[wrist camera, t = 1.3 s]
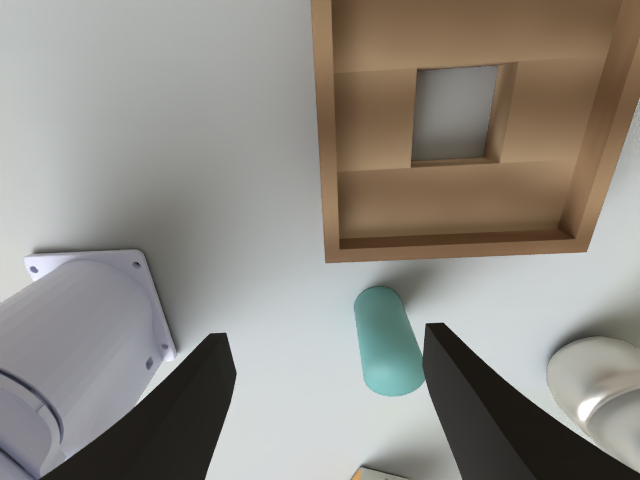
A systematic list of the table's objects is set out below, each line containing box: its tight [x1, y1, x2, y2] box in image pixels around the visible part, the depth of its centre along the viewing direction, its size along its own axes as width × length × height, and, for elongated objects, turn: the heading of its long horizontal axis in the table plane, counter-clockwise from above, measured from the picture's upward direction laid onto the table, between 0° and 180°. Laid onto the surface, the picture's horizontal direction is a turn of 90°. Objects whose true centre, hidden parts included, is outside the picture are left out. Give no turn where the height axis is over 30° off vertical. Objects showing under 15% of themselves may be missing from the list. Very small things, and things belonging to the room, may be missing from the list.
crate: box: [311, 0, 640, 263], centre depth 15 cm, size 14×14×3 cm
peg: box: [354, 286, 425, 396], centre depth 19 cm, size 3×3×6 cm
